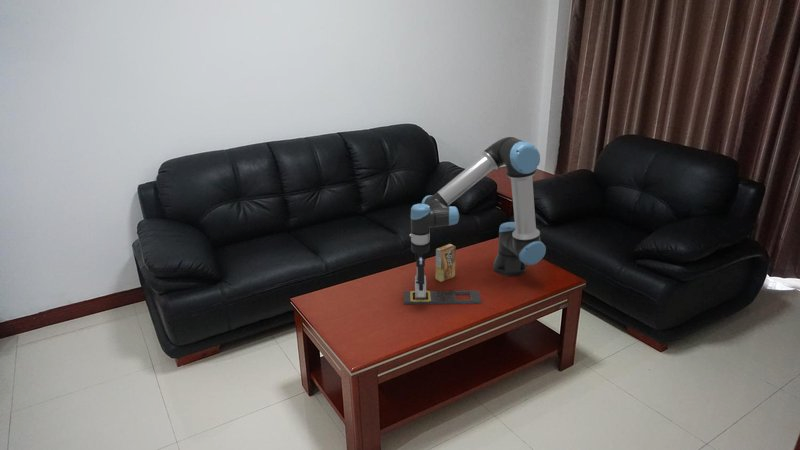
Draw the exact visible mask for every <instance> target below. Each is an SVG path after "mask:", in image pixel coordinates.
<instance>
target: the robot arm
mask: <svg viewBox="0 0 800 450" xmlns="http://www.w3.org/2000/svg"><path fill="white" fill-rule="evenodd" d="M540 162H541V154H540V152H539V150H538V148H537V147H536V146H535V145H534V144H532V143H530V142H529V141H524V140H522V139H519V138H516V137H513V136H507V137H503V138H501V139H498V140H496V141H495V142H494V143H492V144H491V145H489V146H488V147H487V148H486V149H484V150H482V155H481V156H479V157H478V158H477V159H476V160H475V161H474V162H472V163H471V164H469V166H467V168H465V169H464V170H462V172H460V173H459V174H458V175H456V176H455V177H454V178H452V179H451V180H450V181H449V182H447V183H446V184H445V185H444V186H443V187H441V188H440V189H439V190H438V191H437V192H436V193H434V194H433V195H431V194H430V195H426V196H425V197H423V199H422V201H421V203H417V204H413V205H412V206H411V208H410V234H409V237H410V241H411V242H410V250H411V252H412V253H413V254H415V261H416V275H418V282H416V283H418V297H424V283H425V282H424V275H425V266H426V254H427V253H429V252H430V248H431V247H430V245H431V243H430V241H431V238H430V237H431V235H430V234H431V233H430V231H431V230H430V228H437V227H438V228H440V227H447V226H454V225H457V224H458V222H459V221H460V220H459V219H460V213H459V209H458V208H457V207H456V206H451V204H452V203H453V202H455V201H456V200H457V199H458V198H460V197H461V196H462V195H463V194H465V193H466V192H467V191H469V190H470V189H471V188H472V187H473V186H474V185H475V184H477V183H478V182H479V181H481V180H482V179H483V178H484V177H486V176H487V175H488V174H489V173H490V172H492V171H493V170H498V169H499V168H501V167H502V166H504V165H505V169H506V170H505V171H506V176H507V177H508V178H509V179H510V184H511V195H512V196H511V197H512V207H513V219H514V221H507V222H503V223H501V224H500V225H499V228H498V229H499V230H498V245H497V246H498V247H497V249H498V250H497V255H496V257H495V258H494V262H493V266H492V267H493V268H492V269H493V271H494V272H495V273H497V274H499V275H501V276H507V277H518V276H521V275H522V276H523V275H524V274H526V271H527V265H528V266H532V265H536V264H538V263H539V262H541V260H542V259H543V258H544V257H545V254H546V252H547V251H546V250H547V247H546V245H545V244H544V243H543V242H542V241H541V231H540V230H539V229H538V228H537V225H536V213H535V211H536V210H535V199H534V197H535V195H534V183H533V180H534V179H533V177H534V176H535V175H536V173H537V172H536V171H537V169H538V166H539V165H540Z"/></svg>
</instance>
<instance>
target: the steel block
mask: <svg viewBox="0 0 800 450" xmlns="http://www.w3.org/2000/svg"><path fill="white" fill-rule="evenodd" d="M416 282H418V275H417V274H416V275H414V291H415V295H414V300H427V295H426V291H427V276H426V275H425V274H424V282H425V283H424V297H418V283H416Z"/></svg>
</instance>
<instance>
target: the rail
mask: <svg viewBox="0 0 800 450" xmlns="http://www.w3.org/2000/svg"><path fill="white" fill-rule="evenodd" d="M457 295H461V296H462V295H463V296H464V295H469V297H470V299H457V297H456V296H457ZM414 296H415V290H407V291H403V305H463V304H464V305H469V304H470V305H473V304H474V305H475V304H476V305H480V304H482V299H481V296H480V292H479V290H426V296H427V299H426V300H415V299H413V298H414Z"/></svg>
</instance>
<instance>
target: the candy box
mask: <svg viewBox="0 0 800 450" xmlns="http://www.w3.org/2000/svg"><path fill="white" fill-rule="evenodd" d="M456 251H457V247H456V246H455V245H453V244H451V243H448V244H446V245H443V246H440V247H438V248H436V249H435V277H434V278H435V280H437V281H438V282H444V281H446V280H449V279H452V278H455V277H456V276H455V275H456V257H457V256H456V253H457V252H456Z"/></svg>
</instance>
